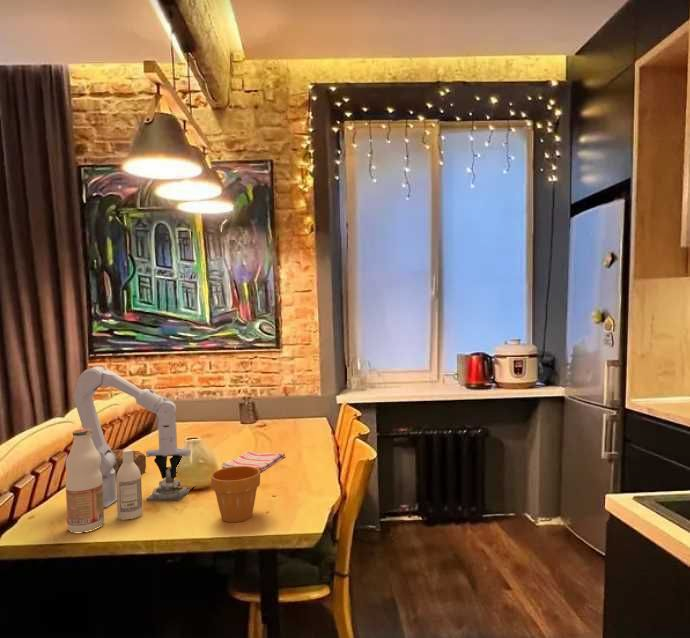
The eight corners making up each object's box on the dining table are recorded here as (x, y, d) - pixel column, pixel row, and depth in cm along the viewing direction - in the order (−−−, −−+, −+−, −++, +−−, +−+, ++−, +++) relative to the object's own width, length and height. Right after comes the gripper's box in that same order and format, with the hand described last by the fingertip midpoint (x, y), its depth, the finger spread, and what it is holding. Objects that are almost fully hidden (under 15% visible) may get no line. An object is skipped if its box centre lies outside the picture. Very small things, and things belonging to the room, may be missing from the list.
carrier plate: (179, 501, 167) (178, 489, 167) (146, 501, 168) (145, 489, 168) (196, 485, 182) (196, 474, 182) (166, 485, 183) (165, 474, 183)
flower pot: (240, 504, 163) (239, 463, 163) (271, 514, 154) (269, 470, 154) (202, 519, 152) (201, 475, 152) (233, 530, 143) (231, 483, 143)
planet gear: (177, 489, 170) (176, 471, 170) (156, 490, 170) (155, 472, 170) (183, 480, 177) (182, 463, 177) (163, 481, 177) (161, 464, 177)
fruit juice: (74, 537, 142) (70, 435, 141) (62, 528, 148) (58, 431, 148) (109, 526, 149) (105, 429, 148) (96, 518, 155) (92, 425, 155)
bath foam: (146, 515, 156) (144, 449, 156) (123, 523, 151) (121, 454, 150) (136, 510, 161) (133, 446, 160) (113, 517, 155) (111, 450, 155)
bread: (85, 481, 192) (84, 454, 192) (101, 472, 202) (100, 446, 202) (134, 480, 190) (133, 453, 190) (147, 471, 201) (146, 446, 201)
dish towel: (219, 471, 199) (219, 462, 199) (250, 455, 221) (249, 447, 221) (259, 475, 193) (259, 465, 193) (286, 458, 215) (286, 449, 215)
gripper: (193, 434, 176) (194, 473, 176) (152, 434, 178) (153, 474, 178) (185, 439, 169) (186, 480, 169) (142, 439, 170) (144, 480, 171)
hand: (169, 477), depth 173 cm, fingers closed on planet gear, 3 cm apart
